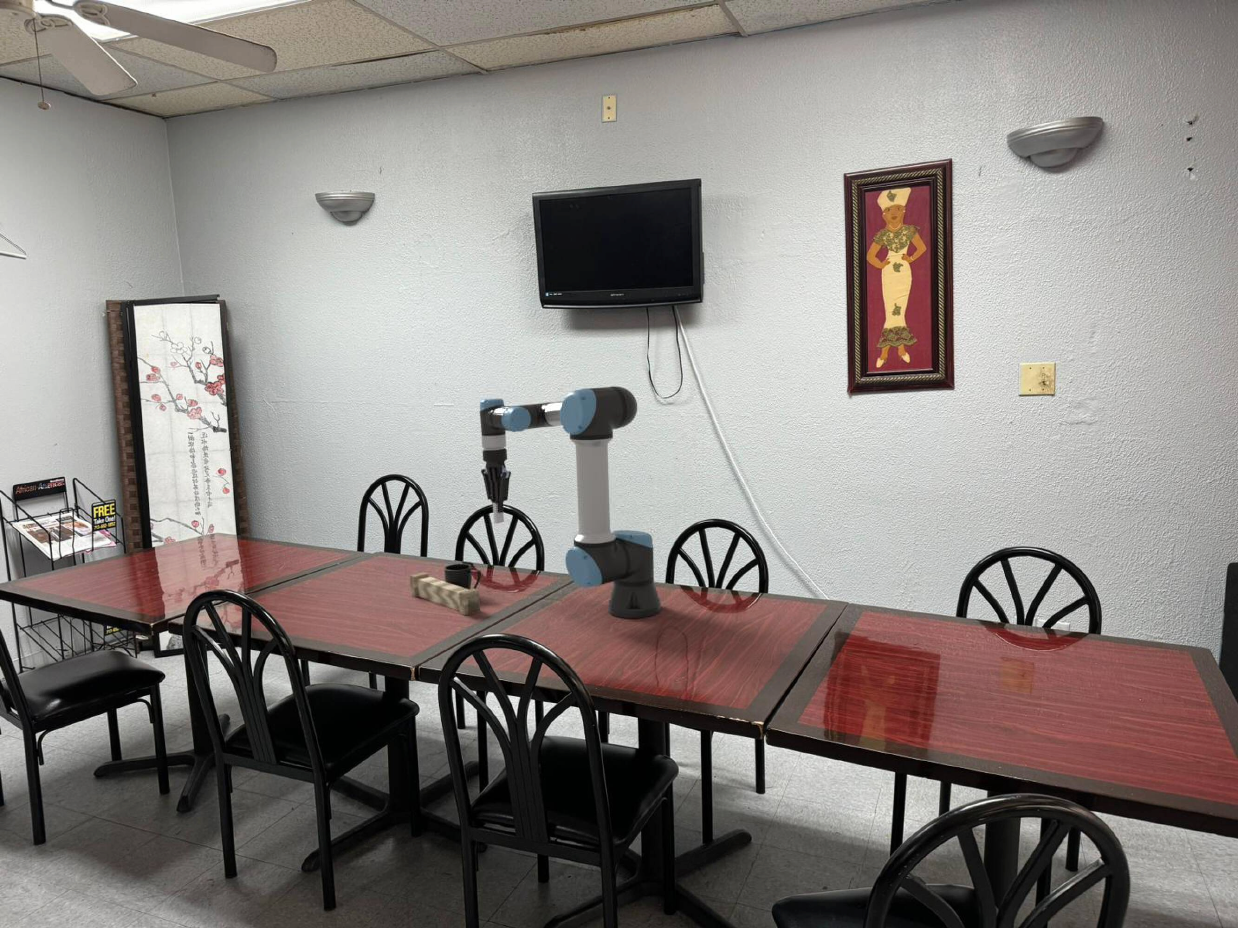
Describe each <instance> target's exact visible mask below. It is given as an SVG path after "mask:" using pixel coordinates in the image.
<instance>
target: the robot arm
mask: <svg viewBox="0 0 1238 928" xmlns="http://www.w3.org/2000/svg"><path fill="white" fill-rule="evenodd" d="M637 412H638V402H637V399H636V397H635V395H634V394H633V393H632V392H631V391H630V389H627V388H625V387H623V386H615V385H614V386H613V385H612V386H605V387H592V388H590V387H589V388H588V387H585V388H582V389H581V388H580V389H576V390H572V391H570V392H569V393H567V395H566V396H565V397H564V398H563V400H558V401H550V402H541V403H540V402H539V403H532V404H531V403H530V404H519V405H505V401H504V399H503V398H485V399H482V400H480V402H479V419H480V421H479V422H480V433H481V447H482V448H483V449H482V451H481V453H482V460H483V462H485V468H482V469H480V472H481V475H482V478H483V482H484V487H485V492H486V497H487V500H488V501H491V502H492V512H493V523H494V524H502V523H505V520H504V519H505V518H504V512H505V511H504V510H505V509H504V502H506V501H508V499H509V489H510V487H509V486H510V478H511V476H512V472H511V471H508V470H507V467H506V463H505V462H506V461H507V460H508V451H507V449H506V447H507V438H506V436H507V435H506V434H507V433H506V432H512V433H516V432H517V433H518V432H523V431H525V430H533V429H540V428H541V429H542V428H550V427H551V428H553V427H559V426H562V429H563V430H564V431H565V432H566V434H569V440H570V441H571V442H572V443H573V444H574V445H575V455H576V456H575V457H576V458H575V459H576V462H575V463H576V482H577V483H576V485H577V487H576V488H577V490H576V492H577V516H578V517H577V518H578V532H577V533H576V534H575V535H574V537H573V546H572V547H571V548H569V549H568V550H567V552H566V554H565V559H564V561H565V562H564V563H565V566H566V571H567V574H568V575H569V577H570V578H571V580H573V582H574V583H575V584H576V585H577V586H579V587H581V588H585V589H589V588H597V587H600V586H603V585H605V584H611V583H613V586H612V589H611V592H610V599H609V600H608V602H607V605H608V606H607V607H608V613H609V614H611V615H612V616H614V617H619V618H623V619H624V618H626V619H639V618H648V617H652V616H655V615H657V614H659V612H661V611H662V607H661V605H662V604H661V603H662V602H661V600H660V598H659V594H658V591H657V588H656V585H655V571H654V567H655V566H654V565H655V563H654V562H655V561H654V549H655V548H654V544H653V536H652V535H651V534H650V533H648V532H645V531H640V530H627V529H625V530H623V529H621V530H619V529H618V530H617V529H616V530H614V531H612V530H611V519H610V518H611V517H610V516H611V514H610V513H611V512H610V511H611V510H610V486H609V485H610V483H609V481H610V478H609V450H608V449H609V448H608V447H609V446H608V445H609V443H610V442H611V441H612V440H613V439H614V434H613V433H614V430H617V429H621V428H624V427H626V426H628V425H630V424H631V423H632V422H633V420H635V417H636V416H637Z"/></svg>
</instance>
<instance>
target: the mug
mask: <svg viewBox="0 0 1238 928" xmlns="http://www.w3.org/2000/svg"><path fill="white" fill-rule="evenodd" d="M443 571H444V582H447V583H450V584H453V585H457V586H460V587H463V588H466V589H469V590H470V589H478V588H477V587H478V586H479V583H480V582H481V579H482V571H481V570H478V569H472V565H470V564H467V563H454V564H450V565H446V566H445V567H444V569H443ZM473 573H476V574H477V579H476V582H475V583H474V586H473V588H471V587H472V581H473V576H472V574H473Z"/></svg>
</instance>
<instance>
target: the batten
mask: <svg viewBox="0 0 1238 928" xmlns="http://www.w3.org/2000/svg"><path fill="white" fill-rule="evenodd" d="M409 581H410V596H412V597H414V598H417V597H420V598H423V599H426V600H428V601H431V602H433V603H436V604H439V605H441V606H445V607H447V608H450V609H454V610H456V611H459V612H460V615H462V616H467V615H471V614H474V613H479V612H481V604H480V603H481V602H480V589H478V588H476V589H473V588H470V590H469V589H466V588H463V587H460V586H457V585H453V584H450V583H447V582H446V581H445V580H441V579H438V578H435V577H432V576H429V573H428V572H425V571H424V572H419V573H415V574H412V575H409Z"/></svg>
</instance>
